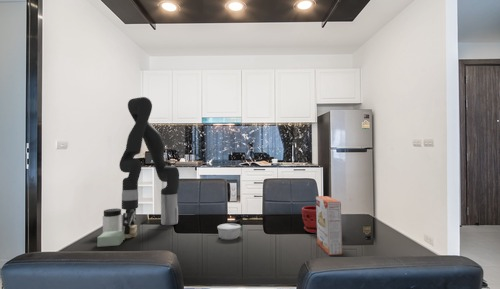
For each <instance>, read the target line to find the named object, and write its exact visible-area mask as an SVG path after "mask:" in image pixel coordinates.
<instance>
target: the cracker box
mask: <svg viewBox="0 0 500 289" xmlns="http://www.w3.org/2000/svg"><path fill="white" fill-rule="evenodd" d="M315 206H316V215H317V233H316V242H317V245H318V246H320V248H321V249H322V250H323V251H324V252H325V253H326V254H327V255H328V256H335V255H336V256H338V255H343V234H342V233H343V232H342V230H343V229H342V228H343V227H342V204H341V201H340V200H337V199H335V198H334V197H331V196H329V195H328V196H327V195H325V196H324V195H323V196H321V195H319V196H318V195H317V196H315Z"/></svg>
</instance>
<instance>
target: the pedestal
mask: <svg viewBox="0 0 500 289" xmlns="http://www.w3.org/2000/svg"><path fill="white" fill-rule="evenodd" d="M125 239H126V238H125V231H124V230H122V231H111V232H104V233H103V232H102V233H101V234H100V235H99V236H97V239H96V240H97V241H96V242H97V245H96V246H97V247H98V248H99V247H111V246H113V247H114V246H120V245H121V244H122V243H123V242H124V241H125ZM123 240H124V241H123Z"/></svg>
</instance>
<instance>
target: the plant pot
mask: <svg viewBox="0 0 500 289" xmlns="http://www.w3.org/2000/svg"><path fill="white" fill-rule="evenodd" d="M301 216H302V222H303V224H304V226H303V229H304V230H305V231H306V232H308V233H311V234H312V233H313V234H317V215H316V205H308V206H307V205H306V206H303V207H302V208H301Z"/></svg>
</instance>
